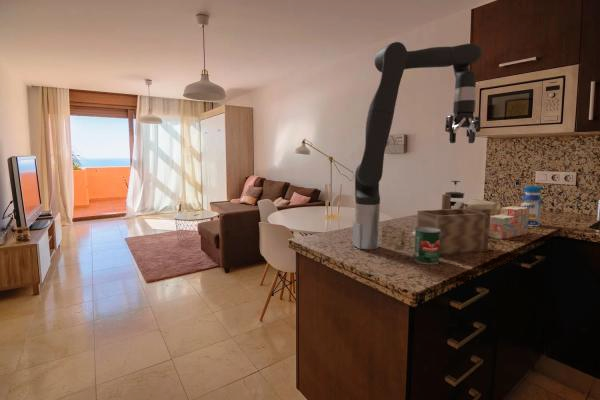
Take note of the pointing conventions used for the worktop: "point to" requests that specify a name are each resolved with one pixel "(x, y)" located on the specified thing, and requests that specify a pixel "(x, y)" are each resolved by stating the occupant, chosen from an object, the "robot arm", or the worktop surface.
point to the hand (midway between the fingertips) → (462, 143)
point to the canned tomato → (427, 245)
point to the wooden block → (446, 203)
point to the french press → (456, 195)
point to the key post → (487, 222)
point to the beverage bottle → (532, 204)
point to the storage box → (456, 229)
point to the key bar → (484, 204)
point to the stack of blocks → (509, 222)
